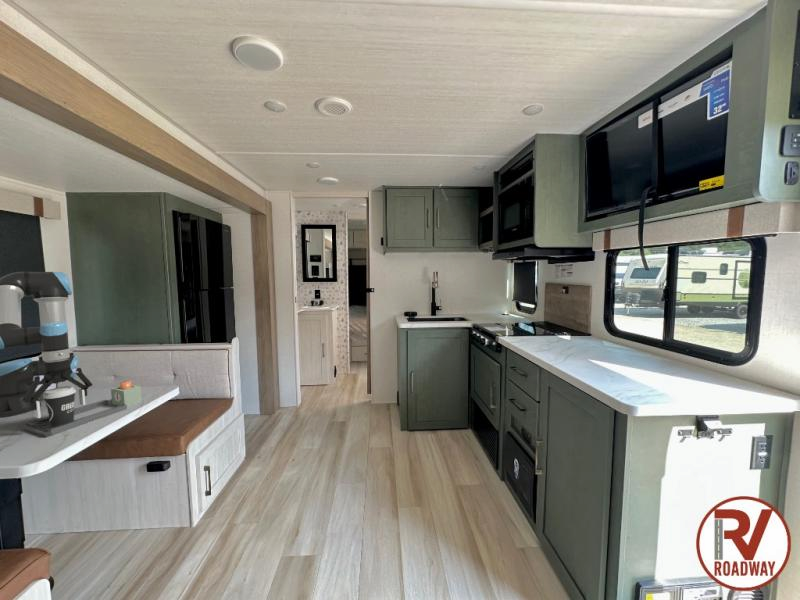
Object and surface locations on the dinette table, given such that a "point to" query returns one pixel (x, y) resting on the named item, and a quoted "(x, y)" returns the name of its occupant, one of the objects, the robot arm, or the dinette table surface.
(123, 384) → the egg
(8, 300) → the robot arm
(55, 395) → the coffee cup
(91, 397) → the dinette table surface
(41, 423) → the gray rectangular frame
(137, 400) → the cabinet
